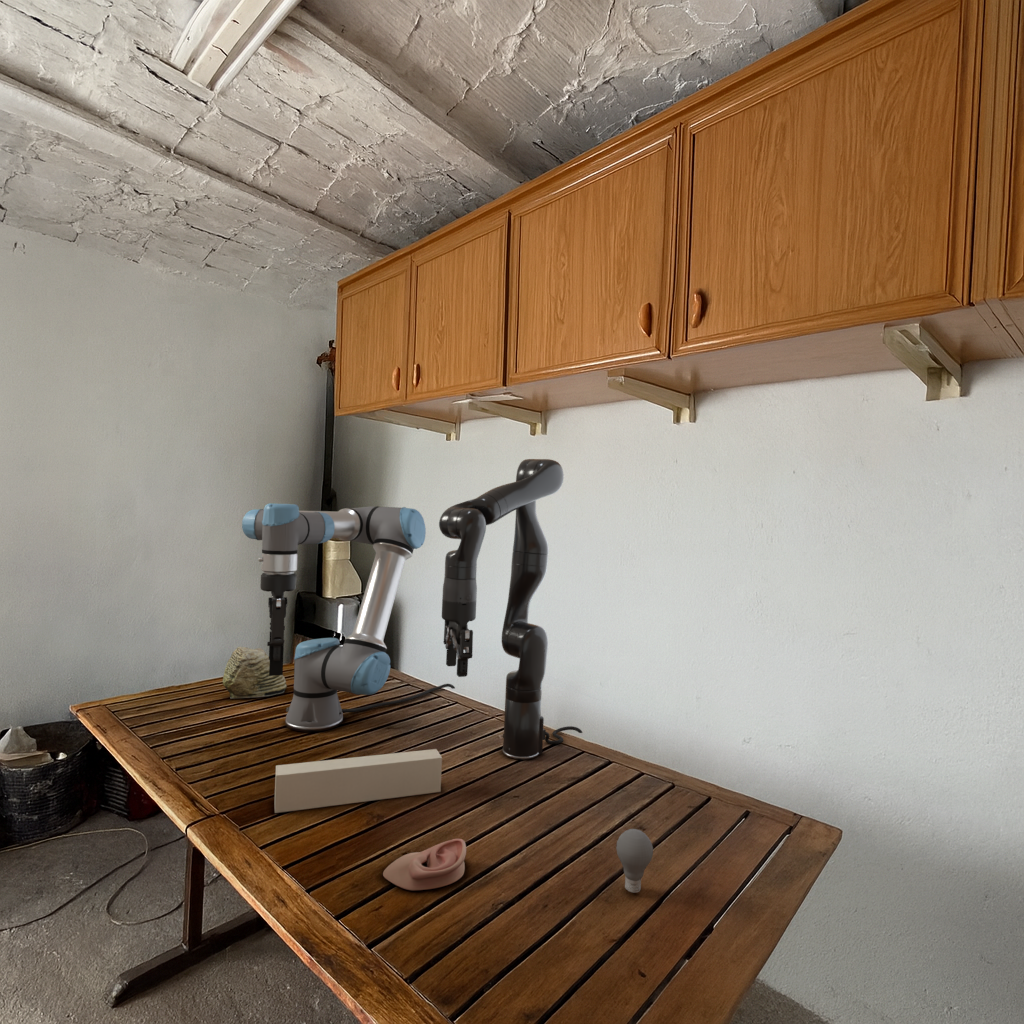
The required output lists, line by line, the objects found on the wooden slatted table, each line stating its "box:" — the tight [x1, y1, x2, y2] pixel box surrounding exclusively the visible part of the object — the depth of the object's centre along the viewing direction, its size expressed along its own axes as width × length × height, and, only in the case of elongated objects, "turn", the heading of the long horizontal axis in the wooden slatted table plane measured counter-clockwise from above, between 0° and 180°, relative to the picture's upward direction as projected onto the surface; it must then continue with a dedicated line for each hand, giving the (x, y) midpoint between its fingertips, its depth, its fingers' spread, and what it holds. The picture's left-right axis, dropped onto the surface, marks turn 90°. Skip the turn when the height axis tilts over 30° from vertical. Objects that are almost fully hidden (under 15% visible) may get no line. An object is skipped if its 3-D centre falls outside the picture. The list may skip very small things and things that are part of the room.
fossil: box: [222, 646, 288, 699], centre depth 198 cm, size 9×18×15 cm, turn 132°
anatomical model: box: [382, 838, 467, 891], centre depth 108 cm, size 13×4×12 cm
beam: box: [274, 748, 443, 814], centre depth 134 cm, size 34×5×8 cm, turn 111°
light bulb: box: [615, 828, 654, 894], centre depth 106 cm, size 6×6×10 cm
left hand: (275, 666), depth 142 cm, fingers open, 13 cm apart
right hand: (456, 670), depth 140 cm, fingers open, 8 cm apart
